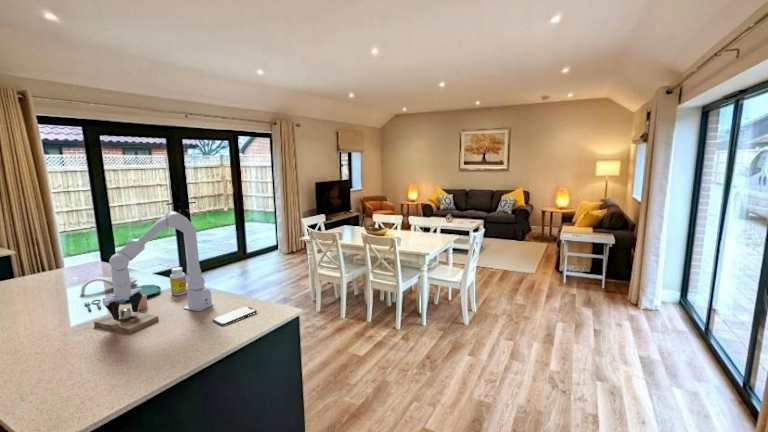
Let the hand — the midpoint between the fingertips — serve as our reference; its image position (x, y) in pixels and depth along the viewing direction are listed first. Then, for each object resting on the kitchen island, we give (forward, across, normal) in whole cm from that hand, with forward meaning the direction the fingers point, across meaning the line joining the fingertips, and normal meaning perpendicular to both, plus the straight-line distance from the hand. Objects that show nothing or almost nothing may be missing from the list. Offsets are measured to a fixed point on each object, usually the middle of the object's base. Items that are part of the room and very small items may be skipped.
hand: (126, 315), depth 147 cm
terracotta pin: (+3, -13, -8) cm, 16 cm away
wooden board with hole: (+3, 0, 0) cm, 3 cm away
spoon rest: (+4, -26, -48) cm, 55 cm away
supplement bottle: (+4, -32, -8) cm, 33 cm away
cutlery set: (+4, -19, -28) cm, 35 cm away
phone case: (+4, -19, +38) cm, 42 cm away
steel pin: (+3, 0, 0) cm, 3 cm away
